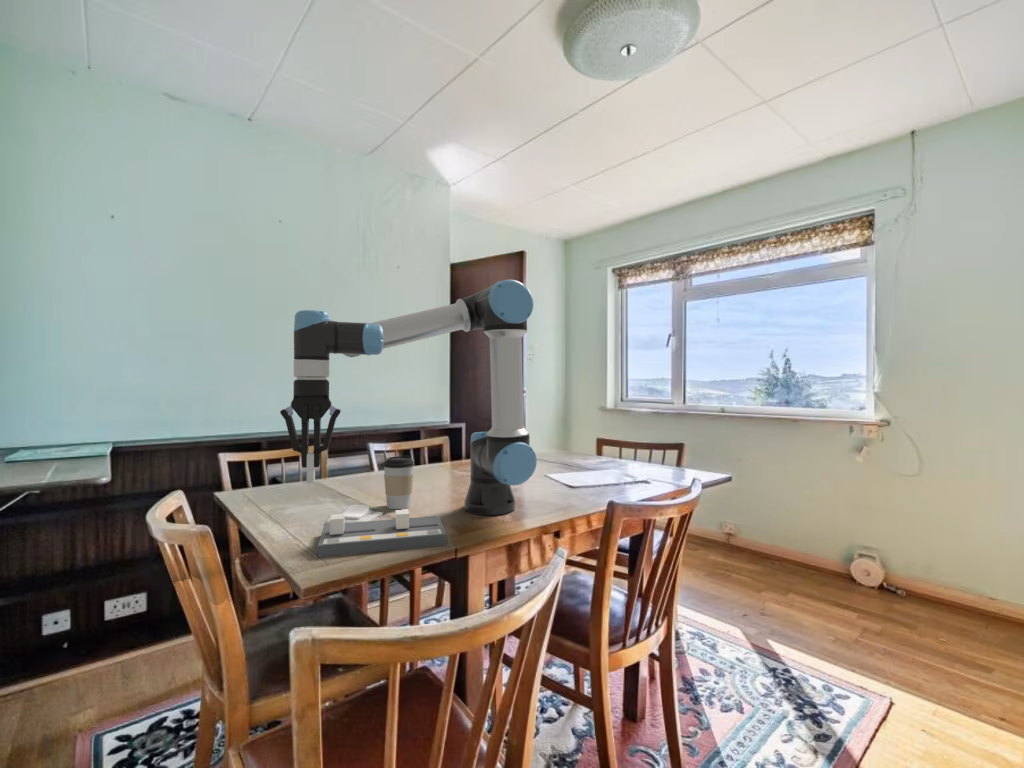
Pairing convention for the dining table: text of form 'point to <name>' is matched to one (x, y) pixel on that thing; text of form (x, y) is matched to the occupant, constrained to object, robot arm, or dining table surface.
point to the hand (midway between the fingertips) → (310, 481)
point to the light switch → (359, 514)
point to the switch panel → (382, 536)
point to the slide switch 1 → (337, 524)
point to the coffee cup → (398, 481)
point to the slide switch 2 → (402, 519)
